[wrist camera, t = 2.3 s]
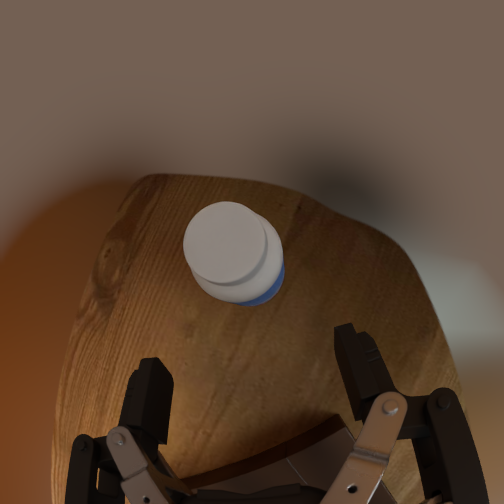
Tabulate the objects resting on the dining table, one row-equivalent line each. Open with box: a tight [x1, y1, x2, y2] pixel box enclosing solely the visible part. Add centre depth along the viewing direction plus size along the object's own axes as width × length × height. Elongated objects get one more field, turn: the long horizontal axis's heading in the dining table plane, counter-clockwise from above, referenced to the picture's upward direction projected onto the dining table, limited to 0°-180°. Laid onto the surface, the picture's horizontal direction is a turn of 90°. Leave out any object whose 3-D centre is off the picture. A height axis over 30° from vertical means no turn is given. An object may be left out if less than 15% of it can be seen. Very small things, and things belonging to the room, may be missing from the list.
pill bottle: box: [183, 202, 285, 306], centre depth 17 cm, size 6×5×10 cm
